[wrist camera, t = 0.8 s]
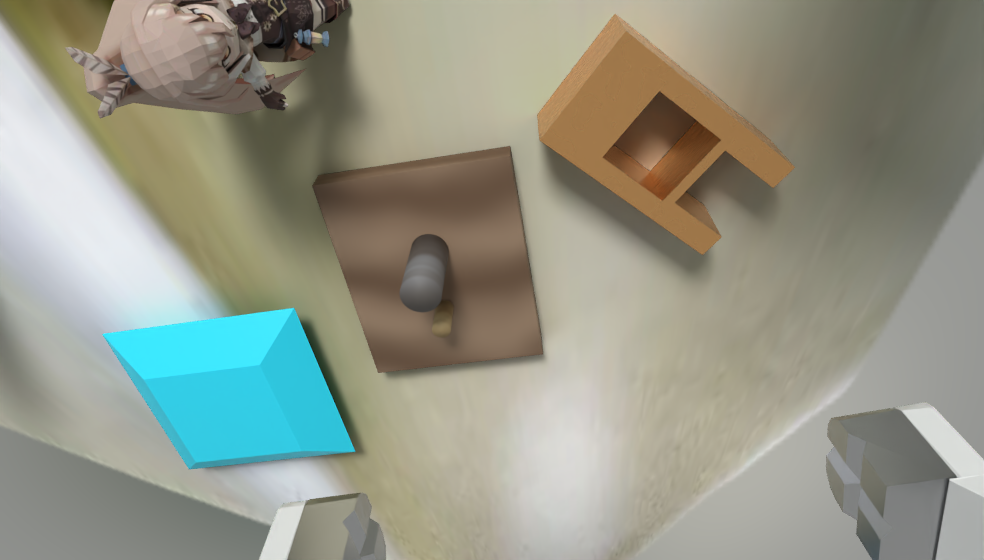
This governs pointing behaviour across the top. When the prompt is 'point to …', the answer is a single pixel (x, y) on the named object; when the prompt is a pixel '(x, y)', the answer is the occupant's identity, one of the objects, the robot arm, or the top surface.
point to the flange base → (469, 271)
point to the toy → (202, 52)
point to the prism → (234, 388)
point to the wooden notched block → (616, 104)
